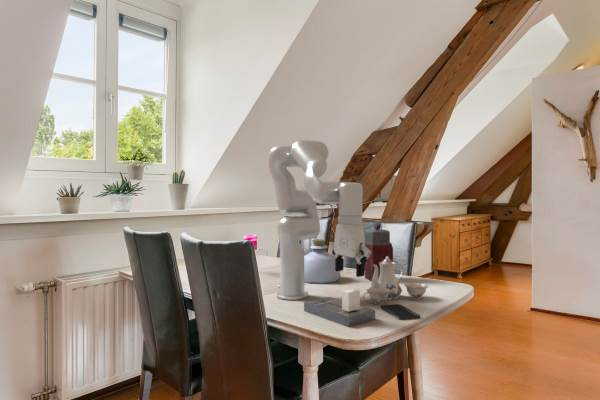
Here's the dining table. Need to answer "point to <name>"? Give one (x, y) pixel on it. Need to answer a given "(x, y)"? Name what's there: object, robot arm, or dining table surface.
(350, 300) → the fader tab
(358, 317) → the fader console
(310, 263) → the bottle
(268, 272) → the dining table surface
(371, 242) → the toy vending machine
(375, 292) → the chinaware
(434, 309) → the dining table surface
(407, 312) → the phone
